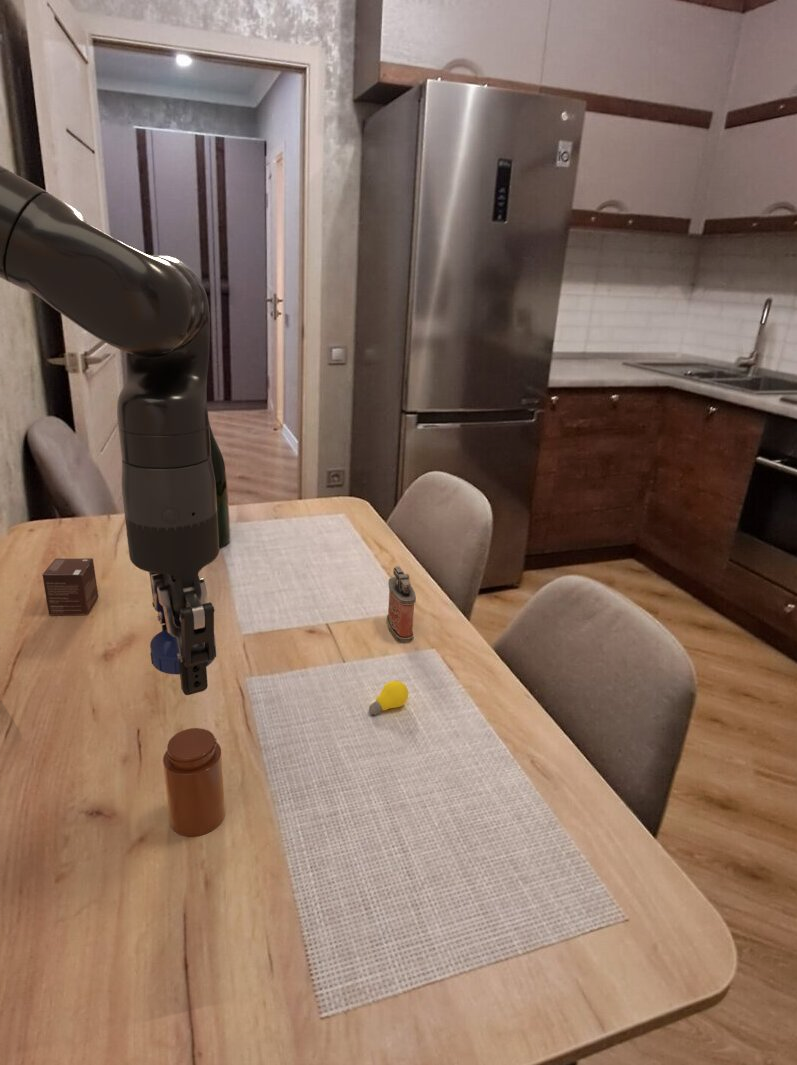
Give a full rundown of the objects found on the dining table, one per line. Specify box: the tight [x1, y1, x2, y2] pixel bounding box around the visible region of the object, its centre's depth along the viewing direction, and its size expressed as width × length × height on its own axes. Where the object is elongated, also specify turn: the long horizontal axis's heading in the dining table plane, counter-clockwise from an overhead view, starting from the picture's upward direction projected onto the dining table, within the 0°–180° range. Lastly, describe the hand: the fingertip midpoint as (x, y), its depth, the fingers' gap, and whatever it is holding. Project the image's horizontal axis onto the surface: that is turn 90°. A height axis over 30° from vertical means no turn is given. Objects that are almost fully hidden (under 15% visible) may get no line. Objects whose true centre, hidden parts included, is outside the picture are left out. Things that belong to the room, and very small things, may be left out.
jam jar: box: [162, 727, 226, 837], centre depth 68 cm, size 6×6×10 cm
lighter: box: [386, 565, 417, 644], centre depth 105 cm, size 8×3×10 cm, turn 17°
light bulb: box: [368, 680, 409, 716], centre depth 88 cm, size 3×6×4 cm, turn 128°
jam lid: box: [149, 625, 217, 675], centre depth 62 cm, size 6×6×2 cm
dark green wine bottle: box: [206, 389, 231, 548], centre depth 129 cm, size 10×10×33 cm
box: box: [42, 557, 99, 616], centre depth 107 cm, size 6×6×7 cm
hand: (185, 672), depth 63 cm, fingers closed on jam lid, 5 cm apart
